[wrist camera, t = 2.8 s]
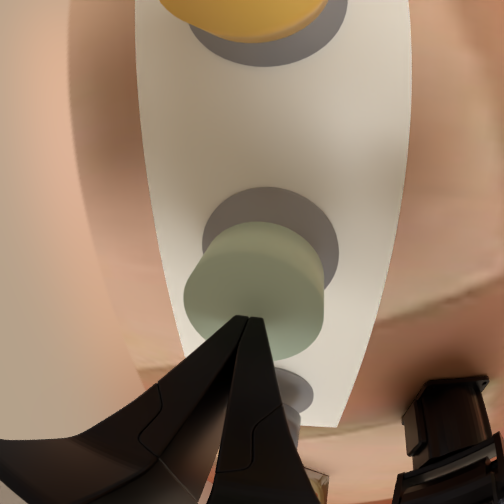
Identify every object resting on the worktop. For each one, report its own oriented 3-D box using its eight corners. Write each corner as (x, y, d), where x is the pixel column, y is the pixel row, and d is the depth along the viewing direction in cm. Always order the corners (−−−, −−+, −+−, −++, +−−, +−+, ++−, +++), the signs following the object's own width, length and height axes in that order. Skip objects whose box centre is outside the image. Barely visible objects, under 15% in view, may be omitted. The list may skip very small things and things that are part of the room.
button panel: (381, -47, 7) (396, -75, 4) (337, 394, 21) (336, 429, 18) (168, -37, 9) (135, -57, 6) (212, 380, 23) (200, 412, 20)
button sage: (329, 220, 10) (332, 258, 8) (317, 321, 12) (315, 367, 10) (200, 213, 11) (172, 247, 9) (212, 310, 13) (194, 351, 11)
